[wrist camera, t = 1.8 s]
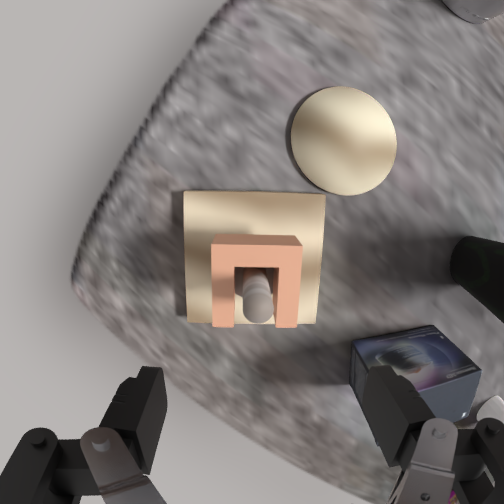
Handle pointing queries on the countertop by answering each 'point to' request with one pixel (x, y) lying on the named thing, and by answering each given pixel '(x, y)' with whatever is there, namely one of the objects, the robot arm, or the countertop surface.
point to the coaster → (343, 141)
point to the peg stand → (259, 223)
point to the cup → (481, 271)
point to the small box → (420, 369)
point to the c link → (256, 255)
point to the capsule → (492, 409)
